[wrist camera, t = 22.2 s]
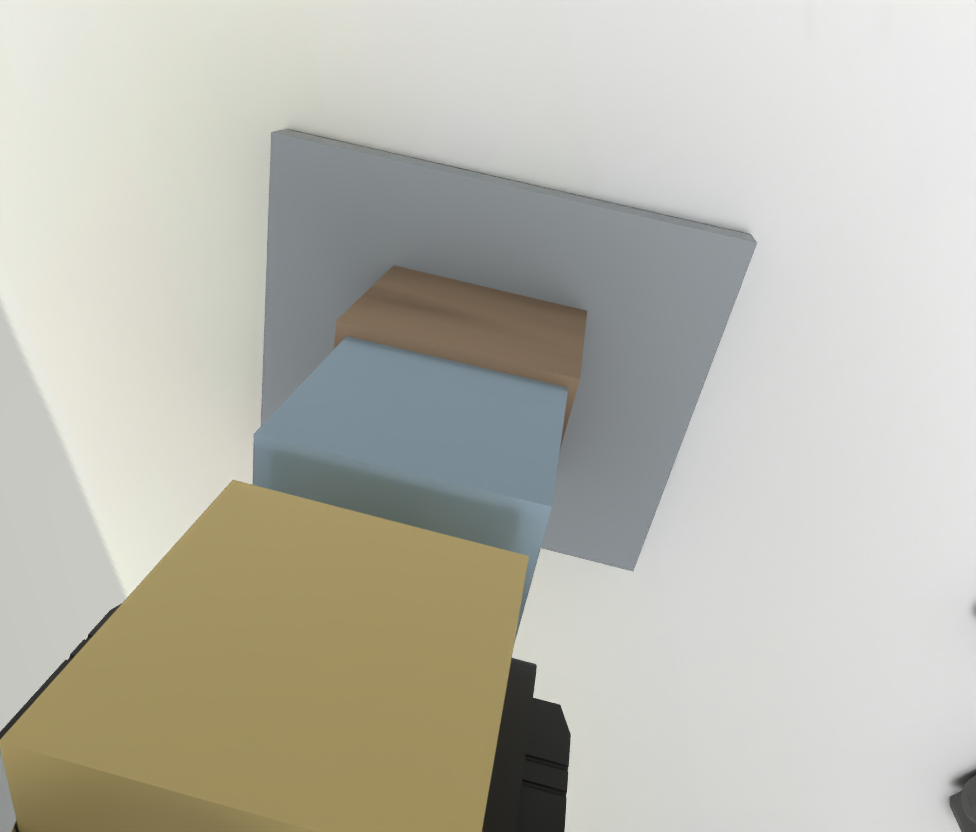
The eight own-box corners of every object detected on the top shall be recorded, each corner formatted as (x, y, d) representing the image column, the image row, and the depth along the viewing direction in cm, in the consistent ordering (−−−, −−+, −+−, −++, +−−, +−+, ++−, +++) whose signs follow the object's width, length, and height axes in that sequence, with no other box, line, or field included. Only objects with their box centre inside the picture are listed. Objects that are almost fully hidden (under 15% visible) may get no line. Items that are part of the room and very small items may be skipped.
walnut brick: (542, 475, 24) (526, 570, 19) (372, 432, 24) (318, 517, 20) (587, 310, 21) (579, 379, 17) (393, 265, 21) (336, 320, 17)
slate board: (632, 553, 26) (632, 571, 25) (270, 462, 27) (259, 475, 26) (750, 234, 20) (756, 242, 19) (285, 128, 21) (271, 132, 20)
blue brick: (522, 563, 19) (495, 713, 15) (330, 516, 20) (249, 649, 15) (568, 387, 17) (551, 507, 12) (346, 336, 17) (253, 434, 13)
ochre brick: (473, 752, 14) (406, 1081, 9) (229, 685, 14) (52, 975, 10) (529, 556, 11) (473, 876, 7) (232, 479, 12) (-1, 741, 7)
